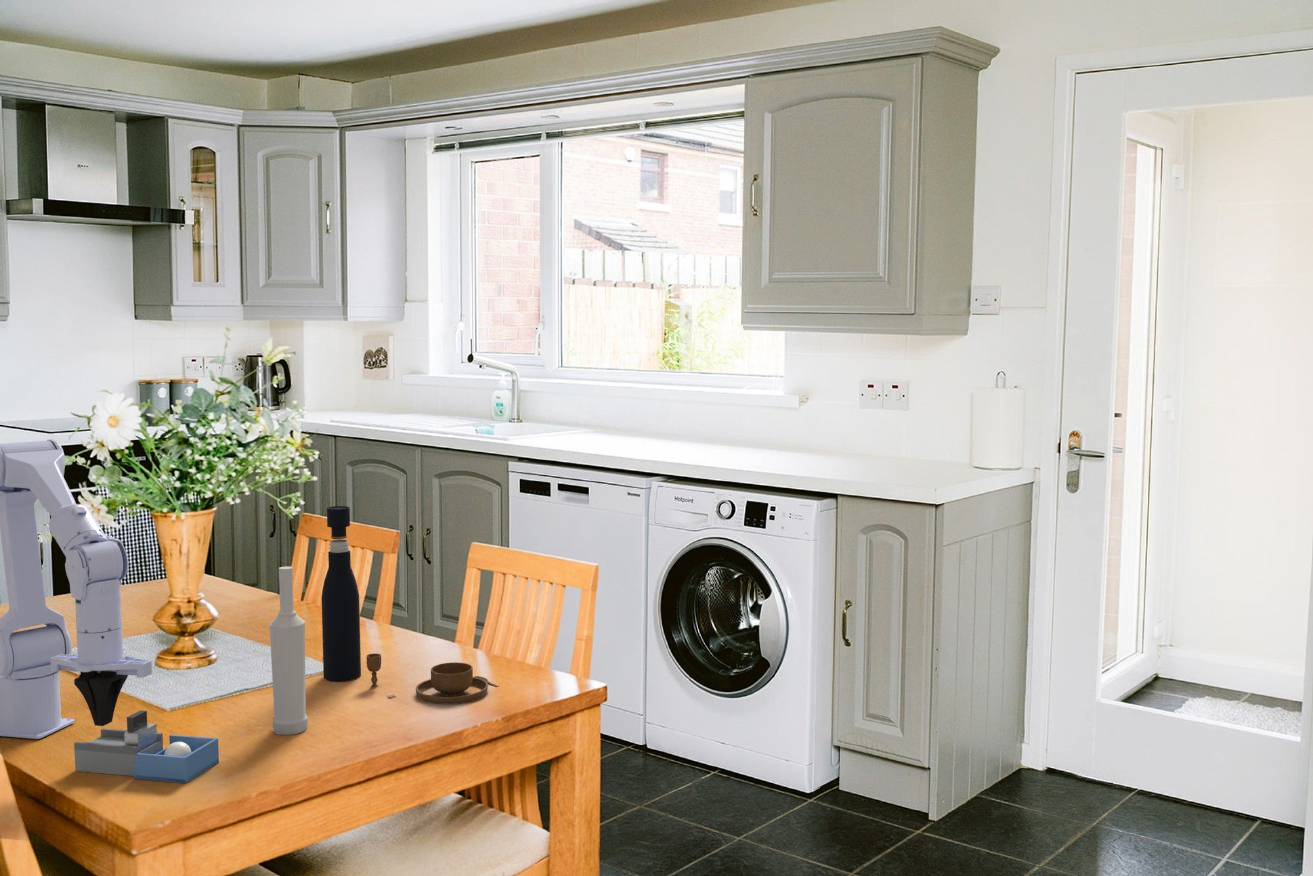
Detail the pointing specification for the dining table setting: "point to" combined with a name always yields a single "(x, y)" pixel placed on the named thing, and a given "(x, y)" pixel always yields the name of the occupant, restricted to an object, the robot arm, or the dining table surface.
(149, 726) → the grey angular hollow piece
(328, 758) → the dining table surface
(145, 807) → the dining table surface
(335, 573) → the wine bottle
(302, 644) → the bottle
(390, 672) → the dining table surface
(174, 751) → the ball
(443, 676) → the place setting
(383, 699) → the dining table surface
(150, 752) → the open gray tray
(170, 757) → the open box
